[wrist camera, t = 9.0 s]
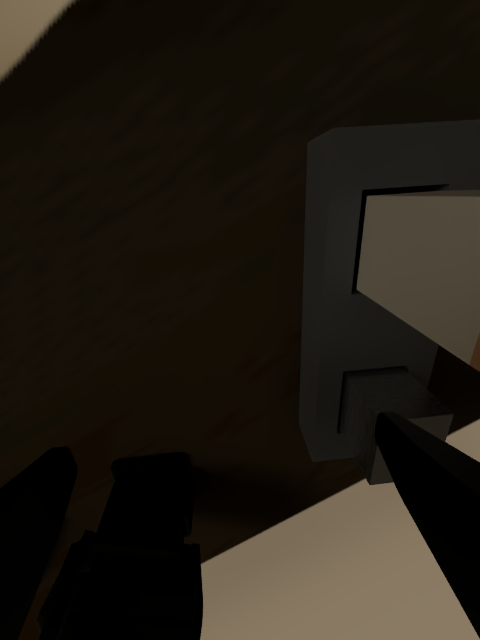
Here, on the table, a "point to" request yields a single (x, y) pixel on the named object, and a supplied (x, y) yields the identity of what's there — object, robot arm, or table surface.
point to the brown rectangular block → (426, 264)
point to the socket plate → (339, 258)
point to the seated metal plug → (384, 396)
